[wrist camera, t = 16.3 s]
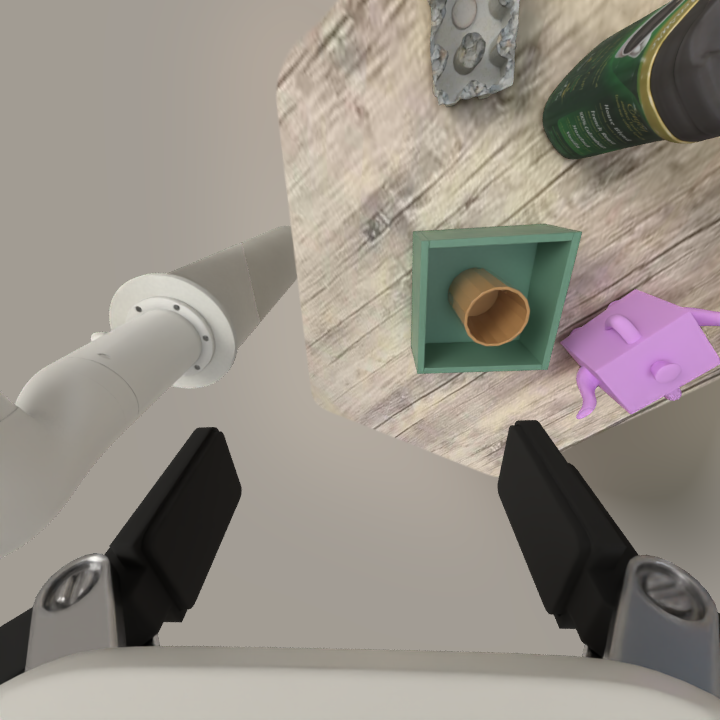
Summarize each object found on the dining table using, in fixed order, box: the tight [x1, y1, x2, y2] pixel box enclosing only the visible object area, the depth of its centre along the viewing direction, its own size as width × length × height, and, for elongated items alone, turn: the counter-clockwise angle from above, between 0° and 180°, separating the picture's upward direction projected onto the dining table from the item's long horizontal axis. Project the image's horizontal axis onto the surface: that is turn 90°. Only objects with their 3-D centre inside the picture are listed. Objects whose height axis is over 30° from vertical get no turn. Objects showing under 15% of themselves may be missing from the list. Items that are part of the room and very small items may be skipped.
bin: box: [411, 224, 582, 374], centre depth 39 cm, size 16×16×8 cm
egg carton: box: [427, 0, 520, 107], centre depth 29 cm, size 11×8×4 cm
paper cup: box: [448, 267, 530, 346], centre depth 38 cm, size 7×7×9 cm
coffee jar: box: [543, 0, 720, 159], centre depth 25 cm, size 10×8×19 cm
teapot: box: [560, 289, 720, 419], centre depth 40 cm, size 15×13×11 cm
